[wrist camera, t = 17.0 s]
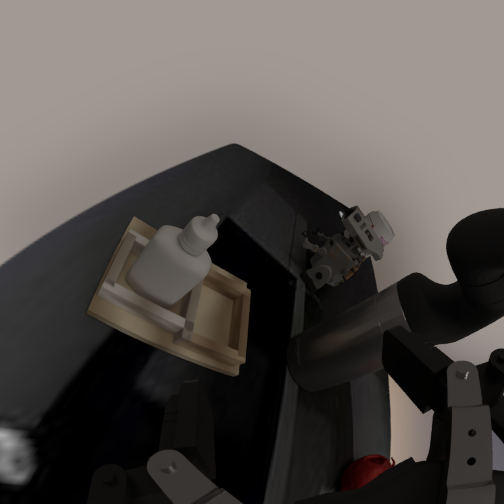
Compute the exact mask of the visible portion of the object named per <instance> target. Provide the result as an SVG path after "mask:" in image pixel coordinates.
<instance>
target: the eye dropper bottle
mask: <svg viewBox="0 0 504 504" xmlns="http://www.w3.org/2000/svg"><path fill="white" fill-rule="evenodd" d="M218 222H219V217H218V216H217V215H216V214H212V215H211V216H209V217H208V218H205V217H202V216H196V217H194V218H193V219H192V220H191V221H190V222H189V223H188V224H187V226H186V227H185V228H184V229H180V228H177V227H174V226H168V225H165V226H162V227H161V228H160V229H159V230H158V231H157V232H156V233H155V235H154V236H153V237H152V239H151V240H150V241H149V242H148V244H147V245H146V247H145V248H144V249H143V251H142V252H141V253H140V255H139V256H138V258H137V259H136V261H135V262H134V263H133V265H132V266H131V268H130V269H129V271H128V272H127V274H126V279H127V282H128V284H129V285H130V286H131V288H132V289H133V290H134V291H135V293H136V294H137V295H139V296H141V297H143V298H145V299H147V300H148V301H150V302H152V303H154V304H156V305H158V306H160V307H162V308H164V309H168V308H170V307H171V306H173V305H174V304H175V303H176V302H177V301H178V300H180V299H181V298H182V297H183V296H184V295H185V294H187V293H188V292H189V291H190V290H191V289H192V288H194V287H195V286H196V285H197V284H198V283H199V282H200V281H202V280H203V279H204V278H205V277H206V275H207V274H208V272H209V270H210V267H211V258H210V256H209V254H208V252H207V251H206V249H207V248H208V247H209V246H210V245H211V244H213V243H214V242H215V241H216V239H217V237H218V233H217V229H216V225H217V224H218Z"/></svg>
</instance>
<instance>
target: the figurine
mask: <svg viewBox="0 0 504 504" xmlns="http://www.w3.org/2000/svg"><path fill="white" fill-rule="evenodd" d="M342 223H343V224H344V226H345V227H346V229H347V230H348V232H349V233H350V234H349V239H348V238H346V237H345V236H342V235H341V234H339V233H337V234H336V235H334V236H332V237H331V238H330V237H328V238H327V237H325V236H324V234H320V233H319V232H318V230H319V227H318V229H317V232H315V233H313V232H312V234H317V235H318V240H319V241H324V242H325V245H324V246H323V247H322V248H321V249H320V248H319V246H318V245H313V244H310V242H309V241H308V234H309V231H304V232H308V233H307V235H305V234H303V233H304V232H302V233H301V234H302V235H303V236H304V237H305V241H304V242H303V244H302V246H303V248H305V249H307V248H309V249H310V250H312V251H313V252H315V253H316V252H317V253H316V254H315V255H314V256H313V257H312V258H311V259H310V261H311V265H312V268H311V269H309V270H305V271H303V272H302V273H301V278H304V279H303V281H304V282H306V283H307V284H308V285H307V287H308V288H310V292H313V293H315V292H316V291H317V290H318V289H319V288H320V287H322V286H323V285H324V284H325V283H327V284H330V285H332V286H336V285H337V286H338V285H340V284H341V283H342V282H343V281H344V280H345V281H347V280H348V278H350V277H351V276H352V275H353V274H354V273H355V272H356V271H357V270H358V269H359V268H358V267H359V265H360V264H361V263H362V262H363V261H364V260H365V256H366V253H367V254H370V255H372V256H373V258H374V259H375V261H377V260H380V259H381V258H382V256H383V251H384V249H383V244H382V243H381V241H380V239H379V238H378V236H377V235H376V233H375V231H374V230H373V228H374V226H373V225H370V224H369V222H368V221H367V219H366V218H365V216H364V215H363V213H362V212H361V210H360V209H359V207H358V206H354V207H352V208H349V209H348V210H346V211H344V213H343V216H342ZM358 248H360V250H361V251H362V252H363V253H365V256H362V257H361V255H360V253H361V252H360V253H359V252H358Z"/></svg>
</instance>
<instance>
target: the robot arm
mask: <svg viewBox="0 0 504 504" xmlns="http://www.w3.org/2000/svg"><path fill="white" fill-rule="evenodd" d="M446 251H447V255H448V259H449V262H450V265H451V267H452V270H453V272H454V274H455V276H456V278H457V280H458V281H456V282H455V283H452V284H449V285H442V284H438V283H435V282H434V281H432V280H430V279H428V278H427V277H426V276H424V275H423V274H421V273H417V272H416V273H412V274H410V275H408V276H406V277H405V278H403V279H401V280H400V281H398V282H396V283H395V284H393V285H391V286H389V287H388V288H386V289H384V290H382V291H381V292H379V293H377V294H376V295H374V296H372V297H370V298H368V299H367V300H365V301H363V302H361V303H359V304H357V305H356V306H354V307H352V308H350V309H348V310H346V311H344V312H342V313H340V314H338V315H336V316H334V317H332V318H330V319H329V320H327V321H324V322H322V323H320V324H318V325H316V326H314V327H312V328H310V329H308V330H306V331H304V332H302V333H300V334H298V335H296V336H294V337H293V338H292V339H291V340H290V342H289V344H288V347H287V362H288V367H289V370H290V372H291V374H292V376H293V378H294V380H295V381H296V382H297V384H298V385H299V386H300V387H302V388H303V389H305V390H307V391H310V392H316V391H319V390H322V389H326V388H329V387H332V386H335V385H339V384H342V383H345V382H348V381H351V380H354V379H356V378H359V377H362V376H365V375H367V374H370V373H373V372H375V371H378V370H380V369H383V368H384V369H385V370H386V372H387V373H388V374H389V375H390V376H391V377H392V378H393V380H394V381H395V382H396V383H397V384H398V385H399V387H400V388H401V389H402V390H403V391H404V392H405V393H406V395H407V396H408V397H409V398H410V399H411V400H412V402H413V403H414V404H415V405H416V406H417V407H418V409H419V410H420V411H421V412H422V413H423V414H424V413H426V412H427V411H429V410H431V409H432V410H433V411H434V414H433V421H432V432H431V441H430V449H429V453H428V456H427V459H426V461H420V462H415V461H414V460H413V458H412V457H410V458H409V459H407V460H405V461H403V462H401V463H399V464H397V465H395V466H393V467H391V468H389V469H387V470H385V471H384V472H382V473H381V474H380V475H378V476H377V477H375V478H374V479H373V480H371V481H370V482H368V483H367V484H365V485H364V486H362V487H361V488H358V489H352V490H346V491H339V492H332V493H325V494H322V495H318V496H315V497H311V498H308V499H304V500H300V501H296V502H294V503H295V504H504V471H498V470H492V430H493V431H494V433H495V434H496V435H497V436H498V437H499V438H500V440H501V441H502V442H503V443H504V396H503V393H504V349H497V350H494V351H493V352H492V353H491V355H490V358H489V361H488V362H486V363H483V364H479V365H476V366H475V365H474V364H472V363H470V362H468V361H457V362H454V361H453V360H451V359H450V358H449V357H448V356H447V355H445V354H444V353H443V352H442V351H440V350H439V349H438V348H437V347H434V346H435V345H438V344H448V343H452V342H456V341H458V340H460V339H463V338H464V337H467V336H469V335H470V334H472V333H474V332H476V331H478V330H480V329H482V328H484V327H486V326H488V325H489V324H491V323H493V322H495V321H496V320H498V319H500V318H501V317H503V316H504V208H497V209H490V210H484V211H480V212H477V213H474V214H471V215H470V216H468V217H466V218H464V219H462V220H461V221H460V222H458V223H457V224H456V225H455V226H454V227H453V228H452V230H451V231H450V233H449V235H448V238H447V243H446ZM164 414H165V415H164V419H163V422H164V423H163V425H162V431H161V438H160V445H159V451H158V452H157V453H156V454H154V455H153V456H152V457H151V458H150V459H149V461H148V463H147V465H145V466H142V467H138V468H134V469H130V470H126V471H125V470H124V469H123V468H122V467H120V466H118V465H116V464H106V465H103V466H101V467H99V468H98V469H97V470H96V471H95V472H94V474H93V477H92V481H91V486H90V491H89V496H88V501H87V504H242V503H241V502H240V501H238V500H237V499H236V498H234V497H233V496H232V495H231V494H229V493H228V492H227V491H225V490H224V489H222V488H218V487H217V486H216V485H215V484H213V483H212V482H211V481H210V480H209V479H216V471H215V451H214V426H213V413H212V408H211V405H210V402H209V400H208V397H207V395H206V393H205V390H204V387H203V385H202V382H201V381H200V379H198V380H192V381H185V382H182V383H181V389H180V394H177V395H172V396H171V397H170V399H169V400H168V402H167V403H166V407H165V413H164ZM491 429H492V430H491Z"/></svg>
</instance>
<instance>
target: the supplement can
mask: <svg viewBox="0 0 504 504" xmlns="http://www.w3.org/2000/svg"><path fill="white" fill-rule="evenodd" d="M365 218H366V219H367V221H368V222H369V224H370V225H373V226H374V228H373V230H374V231H375V233H376V235H377V236H378V238H379V239H380V241H381V243H382V244H383V247H384V246H386V245H387V244H389V243H390V242H391V240H392V238H393V237H394V236H395V235H394V232H393V230H392V228H391V226H390V225H389V223H388V221H387V220H386V218H385V217H384V216H383V214H382V213H381V212H380V211H379V210H378V211H376V212H375V211H374V212H370V213H369V214H368V215H367V216H365ZM349 234H350V233H349V232H348V230H345V231H344V232H342V233H341V235H342V236H345V237H346V238H348V239H349ZM358 252H359V253H360V252H361V253H360V255H361V257H362V256H365V253H363V252H362V251H361V250H360V248H358ZM369 256H370V254H367V253H366V256H365V259H366V258H367V257H369Z"/></svg>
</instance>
